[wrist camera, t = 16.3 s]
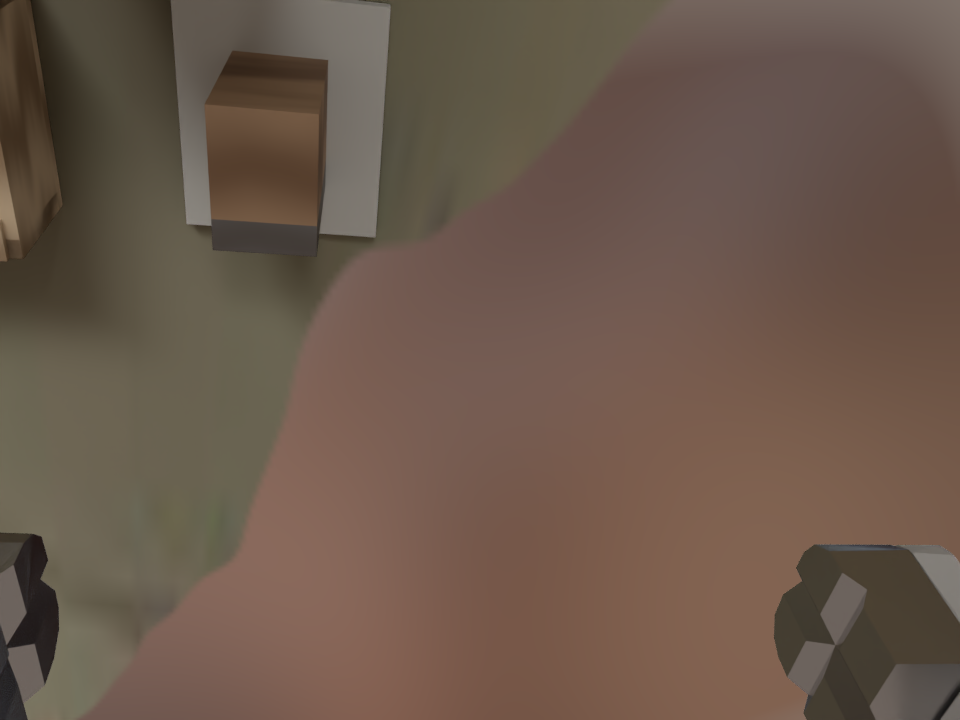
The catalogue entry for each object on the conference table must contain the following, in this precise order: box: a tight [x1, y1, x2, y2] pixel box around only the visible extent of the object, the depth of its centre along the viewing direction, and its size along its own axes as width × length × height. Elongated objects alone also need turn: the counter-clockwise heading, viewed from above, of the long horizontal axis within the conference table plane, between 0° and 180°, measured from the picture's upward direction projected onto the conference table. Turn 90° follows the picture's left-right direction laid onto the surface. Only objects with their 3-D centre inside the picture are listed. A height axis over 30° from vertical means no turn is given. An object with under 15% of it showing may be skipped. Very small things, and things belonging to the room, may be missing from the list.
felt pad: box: [171, 0, 391, 237], centre depth 43 cm, size 12×10×1 cm
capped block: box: [204, 51, 328, 257], centre depth 39 cm, size 6×4×8 cm
